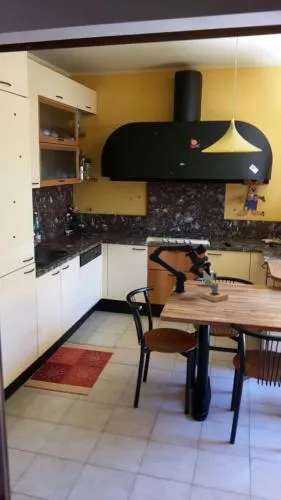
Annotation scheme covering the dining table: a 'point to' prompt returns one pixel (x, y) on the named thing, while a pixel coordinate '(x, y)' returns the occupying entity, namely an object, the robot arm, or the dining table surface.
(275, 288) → the dining table surface
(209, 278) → the pneumatic valve
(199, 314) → the dining table surface
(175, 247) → the robot arm
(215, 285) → the cylinder
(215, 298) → the docking socket
